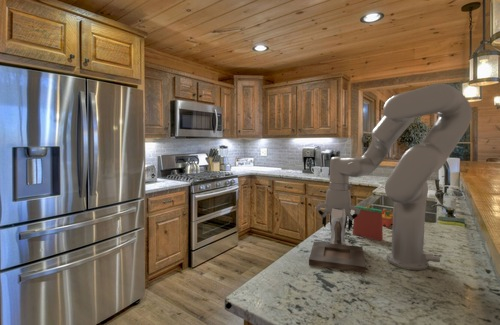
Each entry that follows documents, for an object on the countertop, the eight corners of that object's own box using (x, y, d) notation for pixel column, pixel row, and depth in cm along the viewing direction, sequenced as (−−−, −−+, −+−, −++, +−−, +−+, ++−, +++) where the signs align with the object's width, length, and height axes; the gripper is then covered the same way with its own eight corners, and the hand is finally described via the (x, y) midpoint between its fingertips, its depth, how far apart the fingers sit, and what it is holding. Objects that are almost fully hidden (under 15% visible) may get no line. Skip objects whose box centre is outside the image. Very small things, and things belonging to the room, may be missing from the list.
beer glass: (343, 247, 109) (344, 210, 108) (326, 243, 114) (327, 207, 113) (348, 242, 115) (349, 207, 114) (332, 239, 119) (333, 204, 118)
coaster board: (362, 252, 105) (362, 246, 105) (366, 273, 88) (366, 266, 88) (313, 246, 111) (314, 241, 110) (308, 264, 94) (308, 259, 93)
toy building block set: (352, 234, 126) (353, 203, 125) (380, 219, 151) (381, 194, 150) (381, 241, 117) (382, 208, 116) (405, 224, 142) (407, 197, 141)
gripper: (360, 186, 114) (358, 227, 115) (317, 184, 119) (316, 222, 121) (362, 189, 107) (359, 232, 108) (316, 186, 112) (314, 227, 113)
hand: (336, 227), depth 114 cm, fingers open, 9 cm apart
